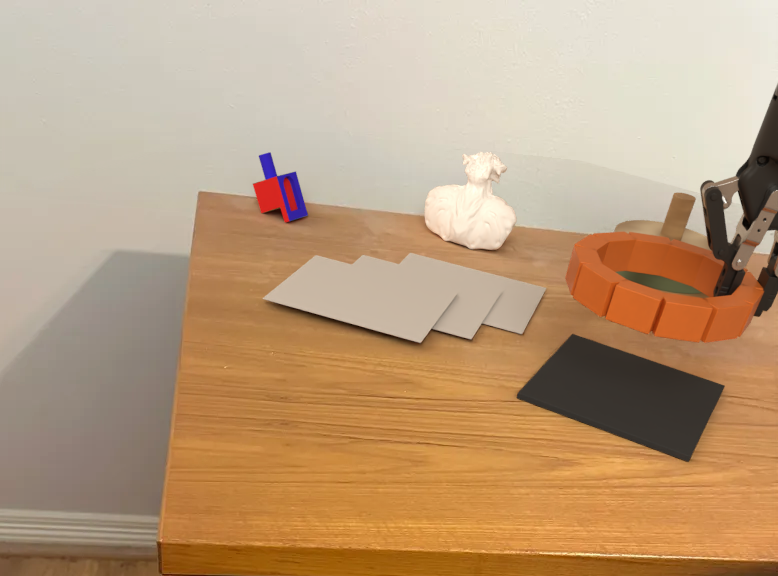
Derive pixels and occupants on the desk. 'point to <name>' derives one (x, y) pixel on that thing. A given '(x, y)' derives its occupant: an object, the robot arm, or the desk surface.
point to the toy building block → (279, 191)
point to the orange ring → (652, 307)
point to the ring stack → (673, 230)
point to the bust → (472, 206)
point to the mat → (625, 395)
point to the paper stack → (409, 296)
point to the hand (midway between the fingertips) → (737, 309)
